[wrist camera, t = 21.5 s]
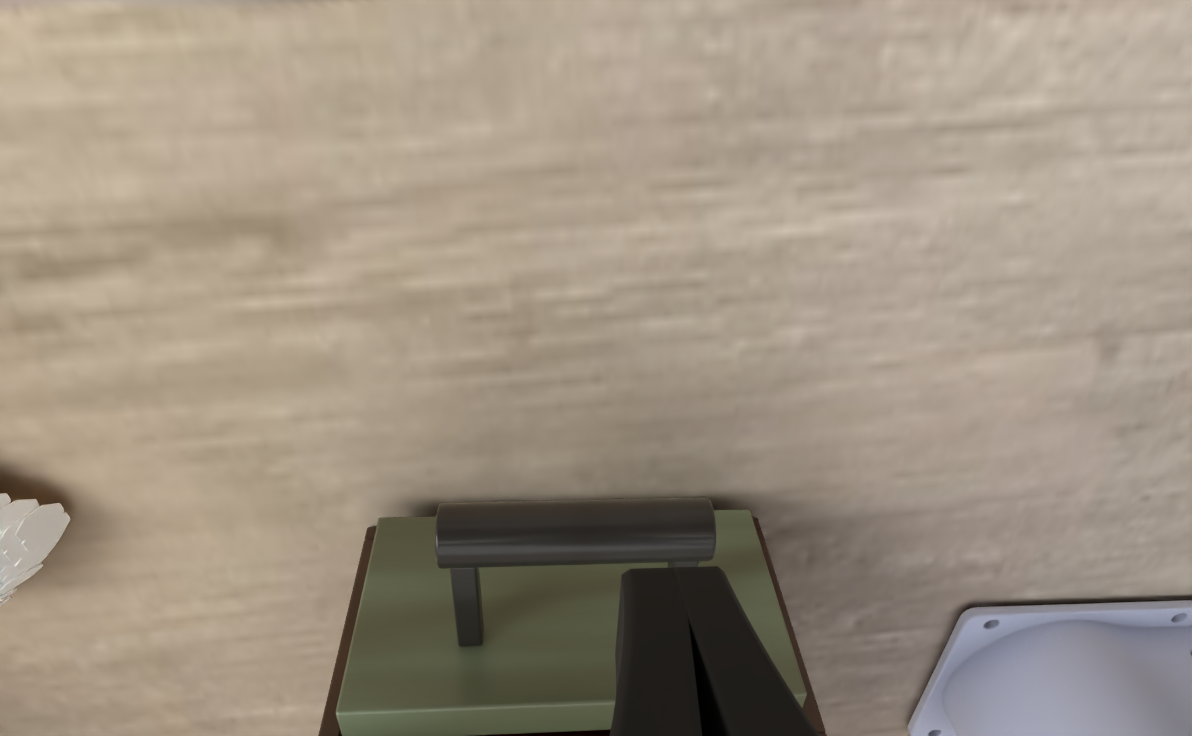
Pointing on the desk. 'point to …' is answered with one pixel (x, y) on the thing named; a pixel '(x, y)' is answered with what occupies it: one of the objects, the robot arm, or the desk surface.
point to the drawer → (528, 611)
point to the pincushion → (26, 539)
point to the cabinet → (330, 725)
